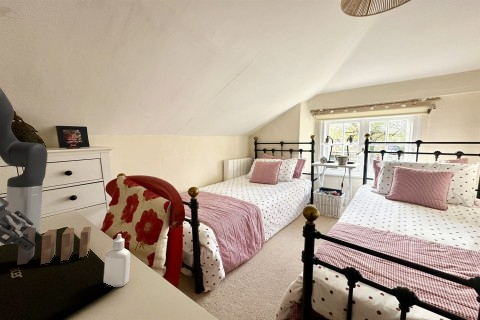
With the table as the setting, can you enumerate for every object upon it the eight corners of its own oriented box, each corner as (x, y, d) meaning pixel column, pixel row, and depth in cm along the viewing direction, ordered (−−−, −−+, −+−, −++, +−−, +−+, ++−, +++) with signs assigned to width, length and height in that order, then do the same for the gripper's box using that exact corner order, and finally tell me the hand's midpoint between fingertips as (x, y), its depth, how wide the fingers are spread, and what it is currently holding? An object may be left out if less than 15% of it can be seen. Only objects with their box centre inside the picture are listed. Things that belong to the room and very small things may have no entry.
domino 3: (79, 259, 61) (80, 232, 61) (82, 252, 66) (83, 227, 65) (86, 258, 62) (88, 231, 62) (89, 251, 66) (90, 226, 66)
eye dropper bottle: (111, 291, 48) (114, 240, 48) (101, 282, 52) (104, 233, 51) (130, 283, 52) (133, 235, 52) (120, 274, 55) (123, 229, 55)
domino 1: (40, 265, 57) (42, 235, 57) (46, 256, 62) (48, 229, 62) (49, 263, 58) (51, 235, 58) (54, 255, 62) (56, 229, 62)
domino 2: (60, 262, 59) (62, 234, 59) (65, 254, 64) (66, 228, 64) (68, 261, 60) (70, 233, 60) (72, 253, 64) (74, 227, 64)
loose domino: (17, 264, 55) (19, 234, 55) (25, 256, 59) (27, 228, 59) (26, 263, 56) (28, 233, 56) (34, 255, 60) (35, 227, 60)
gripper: (-27, 197, 48) (40, 242, 53) (5, 187, 60) (57, 225, 66) (-65, 222, 45) (10, 267, 51) (-23, 206, 58) (33, 244, 64)
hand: (36, 243), depth 58 cm, fingers closed on loose domino, 5 cm apart
